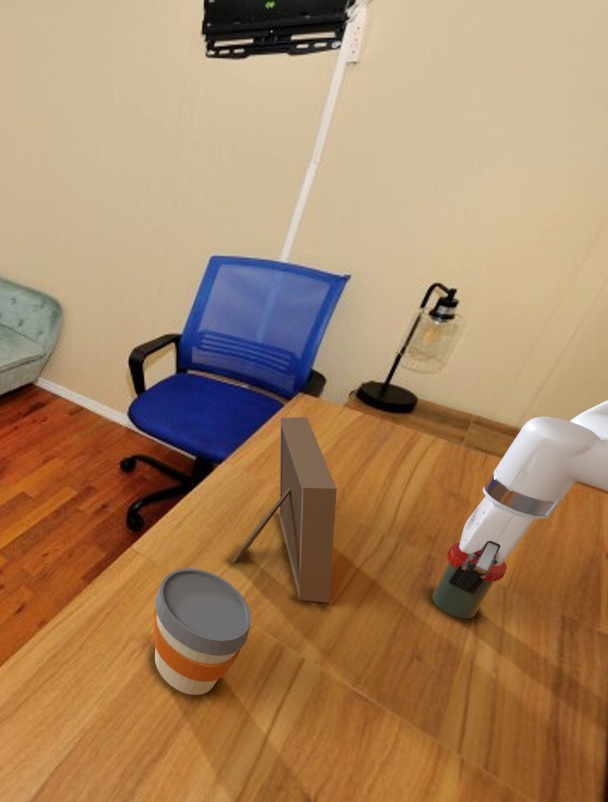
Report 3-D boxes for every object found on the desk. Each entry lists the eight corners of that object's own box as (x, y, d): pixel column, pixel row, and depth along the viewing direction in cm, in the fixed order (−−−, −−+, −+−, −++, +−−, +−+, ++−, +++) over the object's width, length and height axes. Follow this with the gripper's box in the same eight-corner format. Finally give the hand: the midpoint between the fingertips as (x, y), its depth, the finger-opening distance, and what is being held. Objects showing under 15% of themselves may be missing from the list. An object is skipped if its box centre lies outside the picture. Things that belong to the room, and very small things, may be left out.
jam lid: (480, 586, 80) (485, 577, 79) (436, 555, 86) (440, 547, 85) (513, 576, 81) (518, 568, 80) (467, 546, 87) (472, 538, 86)
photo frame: (302, 521, 106) (341, 422, 94) (327, 606, 88) (379, 496, 76) (225, 505, 111) (253, 409, 99) (234, 583, 93) (270, 476, 81)
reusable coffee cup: (134, 628, 85) (147, 566, 78) (209, 630, 84) (229, 567, 77) (156, 706, 74) (174, 642, 67) (243, 708, 73) (270, 643, 66)
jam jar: (471, 599, 88) (495, 555, 84) (478, 624, 84) (504, 579, 80) (429, 586, 91) (450, 543, 86) (435, 610, 87) (457, 566, 82)
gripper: (492, 458, 84) (442, 536, 93) (481, 508, 73) (426, 591, 82) (556, 480, 79) (497, 560, 88) (554, 537, 69) (488, 621, 77)
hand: (463, 574), depth 85 cm, fingers closed on jam lid, 6 cm apart
